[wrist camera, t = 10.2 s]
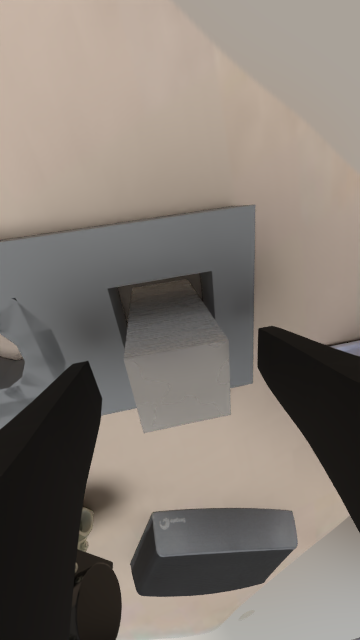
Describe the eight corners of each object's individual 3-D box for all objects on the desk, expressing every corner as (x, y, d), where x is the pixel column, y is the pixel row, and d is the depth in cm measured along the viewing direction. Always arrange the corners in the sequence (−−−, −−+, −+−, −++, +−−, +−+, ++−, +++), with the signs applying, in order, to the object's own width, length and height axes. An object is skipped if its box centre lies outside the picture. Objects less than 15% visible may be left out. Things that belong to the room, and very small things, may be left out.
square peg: (187, 279, 15) (228, 340, 8) (192, 327, 17) (230, 414, 9) (132, 287, 15) (123, 359, 8) (142, 336, 16) (143, 433, 9)
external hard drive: (153, 502, 26) (155, 550, 22) (292, 503, 31) (313, 542, 27) (128, 560, 31) (127, 607, 27) (252, 552, 36) (265, 591, 32)
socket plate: (232, 206, 14) (255, 204, 11) (236, 358, 18) (252, 383, 16) (-138, 260, 12) (-219, 274, 9) (-27, 411, 17) (-59, 449, 14)
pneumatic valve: (8, 530, 23) (-105, 801, 13) (96, 475, 22) (52, 731, 11) (51, 546, 26) (-12, 785, 15) (134, 497, 24) (128, 725, 13)
